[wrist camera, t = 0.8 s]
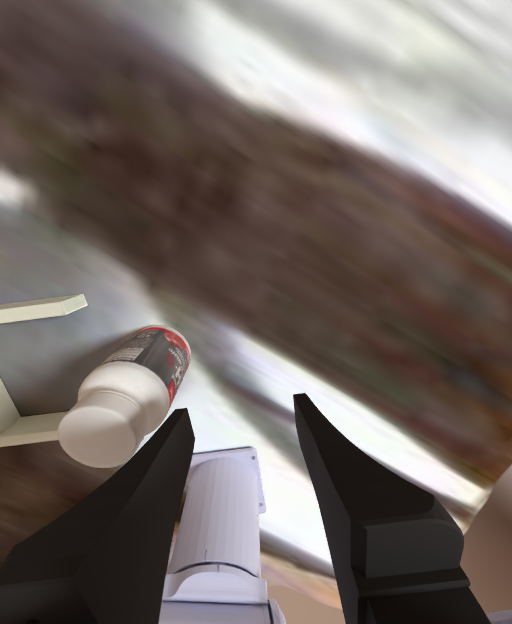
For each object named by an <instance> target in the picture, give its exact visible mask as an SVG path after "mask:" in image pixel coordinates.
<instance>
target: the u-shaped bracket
mask: <svg viewBox="0 0 512 624" xmlns="http://www.w3.org/2000/svg"><path fill="white" fill-rule="evenodd" d="M87 305H88V304H87V302H86V299H85V296H84V294H77V295H69V296H62V297H54V298H46V299H39V300H31V301H23V302H16V303H8V304H0V323H7V322H15V321H22V320H30V319H38V318H45V317H53V316H61V315H67V314H69V313H71V312H74V311H76V310H78V309H80V308H83V307H85V306H87ZM68 412H69V411H66V412H58V413H50V414H42V415H34V416H26V417H21V416H20V414H19V413H18V411H17V409H16V407H15V405H14V403H13V401H12V399H11V397H10V396H9V394H8V392H7V390H6V388H5V386H4V384H3V382H2V380H1V379H0V447H4V446H12V445H20V444H28V443H36V442H44V441H52V440H59V439H58V426H59V424H60V422H61V420H62V419H63V417H64V416H65V415H66V414H67V413H68Z"/></svg>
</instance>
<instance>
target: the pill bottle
mask: <svg viewBox="0 0 512 624" xmlns="http://www.w3.org/2000/svg"><path fill="white" fill-rule="evenodd" d="M190 360H191V350H190V347H189V344H188V342H187V340H186V339H185V338H184V336H183V335H182V334H180V333H179V332H178V331H176V330H175V329H173V328H171V327H168V326H162V325H152V326H148V327H145V328H143V329H141V330H140V331H138V332H137V333H136V334H135V335H133V336H132V337H131V338H130V339H129V340H128V341H126V342H125V343H124V344H123V345H122V346H121V347H120V348H118V349H117V350H116V351H115V352H114V353H113V354H112V355H110V356H109V357H108V358H107V359H106V360H105V361H104V362H102V363H101V364H100V365H99V366H98V367H97V368H95V369H94V370H93V371H92V372H91V373H90V374H89V375H88V376H87V377H86V378H85V380H84V381H83V383H82V384H81V386H80V389H79V392H78V402H77V403H76V405H75V406H74V407H73V408H71V409H70V411H69V412H68V413H67V414H66V415H65V416H64V417H63V419H62V420H61V422H60V424H59V426H58V439H59V442H60V444H61V446H62V448H63V449H64V451H65V452H66V453H67V454H68V455H69V456H71V457H72V458H73V459H75V460H76V461H78V462H80V463H82V464H84V465H88V466H91V467H96V468H109V467H115V466H118V465H121V464H123V463H125V462H126V461H128V460H129V459H130V458H131V457H132V456H133V454H134V453H135V452H136V450H137V448H138V446H139V445H140V443H141V441H142V440H143V438H144V436H145V435H147V434H149V433H151V432H152V431H154V430H155V429H156V428H157V427H158V426H159V425H160V424H161V423H162V421H163V420H164V418H165V417H166V415H167V413H168V410H169V408H170V406H171V404H172V401H173V399H174V397H175V395H176V393H177V390H178V388H179V386H180V384H181V382H182V379H183V377H184V375H185V373H186V371H187V368H188V366H189V363H190Z"/></svg>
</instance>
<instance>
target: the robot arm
mask: <svg viewBox="0 0 512 624" xmlns="http://www.w3.org/2000/svg"><path fill="white" fill-rule="evenodd" d="M293 398H294V409H295V420H296V428H297V433H298V438H299V442H300V447H301V450H302V453H303V456H304V459H305V462H306V465H307V468H308V471H309V474H310V478H311V481H312V484H313V487H314V490H315V493H316V497H317V500H318V504H319V508H320V512H321V516H322V520H323V525H324V529H325V533H326V537H327V542H328V546H329V550H330V555H331V559H332V563H333V568H334V572H335V577H336V581H337V586H338V590H339V595H340V599H341V604H342V608H343V613H344V617H345V622H346V624H512V610H508V611H500V612H491V613H484V611H483V609H482V608H481V606H480V605H479V603H478V602H477V600H476V598H475V597H474V595H473V593H472V592H471V590H470V589H469V587H468V586H470V581H469V579H468V577H467V576H466V574H465V573H464V571H463V570H462V568H461V567H460V560H461V556H462V552H463V547H464V536H463V533H462V531H461V529H460V528H459V527H458V525H457V524H456V522H455V521H454V520H453V518H452V517H451V516H450V514H449V513H448V512H447V511H446V509H445V508H444V507H443V506H442V505H441V503H440V502H439V501H438V500H437V499H436V498H435V496H434V495H432V494H430V493H429V492H427V491H425V490H423V489H421V488H419V487H417V486H416V485H414V484H412V483H410V482H408V481H406V480H405V479H403V478H401V477H400V476H398V475H396V474H395V473H393V472H391V471H390V470H388V469H387V468H385V467H384V466H382V465H381V464H379V463H378V462H376V461H375V460H374V459H372V458H371V457H369V456H368V455H367V454H365V453H364V452H363V451H361V450H360V449H359V448H358V447H356V446H355V445H354V444H353V443H352V442H350V441H349V440H348V439H347V438H346V437H345V436H344V435H343V434H341V433H340V432H339V431H338V430H337V429H336V428H335V427H334V426H333V425H332V424H331V423H330V422H329V421H328V420H327V418H326V417H325V416H324V415H323V414H322V413H321V412H320V411H319V410H318V408H317V407H316V406H315V405H314V403H313V402H312V401H311V400H310V398H309V397H308V395H307V394H305V393H302V394H294V395H293ZM194 442H195V437H194V433H193V429H192V425H191V421H190V418H189V414H188V410H187V408H183V409H175V410H174V412H173V413H172V414H171V415H170V416H169V417H168V418H167V420H166V421H165V422H164V423H163V424H162V425H161V427H160V428H159V429H158V430H157V431H156V432H155V433H154V435H153V436H152V437H151V438H150V439H149V440H148V441H147V442H146V443H145V444H144V445H143V446H142V447H141V449H140V450H139V451H138V452H137V453H136V454H135V455H134V456H133V457H132V458H131V459H130V460H129V461H128V462H127V463H126V464H125V465H124V466H123V467H121V468H120V469H119V470H118V471H117V472H116V473H115V474H114V475H113V476H112V477H110V478H109V479H108V480H107V481H106V482H104V483H103V484H102V485H101V486H100V487H98V488H97V489H96V490H95V491H93V492H92V493H91V494H90V495H88V496H87V497H86V498H85V499H83V500H82V501H81V502H79V503H78V504H77V505H75V506H74V507H73V508H71V509H70V510H68V511H67V512H66V513H64V514H63V515H61V516H60V517H59V518H57V519H56V520H54V521H53V522H51V523H50V524H48V525H47V526H45V527H44V528H42V529H41V530H39V531H38V532H36V533H34V534H33V535H31V536H30V537H28V538H27V539H25V540H24V541H22V542H20V543H19V544H17V545H16V546H14V547H13V549H12V550H11V551H10V553H9V554H8V555H7V557H6V558H5V559H4V561H3V562H2V563H1V565H0V624H286V620H285V617H284V615H283V613H282V611H281V610H280V608H279V606H278V603H277V602H276V600H274V599H267V581H266V579H261V567H260V540H259V514H262V513H264V512H265V511H266V505H265V499H264V493H263V487H262V481H261V474H260V468H259V462H258V456H257V450H256V449H255V448H244V449H236V450H228V451H220V452H212V453H204V454H195V455H193V449H194ZM185 483H186V484H187V487H188V491H187V495H186V500H185V504H184V508H183V512H182V517H181V521H180V525H179V529H178V534H177V538H176V542H175V546H174V551H173V555H172V559H171V563H170V568H169V572H168V574H166V571H167V565H168V559H169V553H170V547H171V542H172V537H173V531H174V526H175V521H176V516H177V512H178V508H179V505H180V501H181V497H182V494H183V490H184V487H185Z"/></svg>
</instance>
